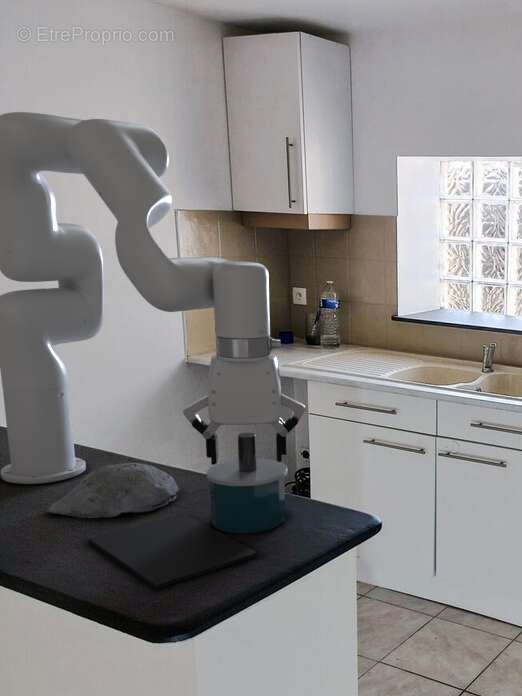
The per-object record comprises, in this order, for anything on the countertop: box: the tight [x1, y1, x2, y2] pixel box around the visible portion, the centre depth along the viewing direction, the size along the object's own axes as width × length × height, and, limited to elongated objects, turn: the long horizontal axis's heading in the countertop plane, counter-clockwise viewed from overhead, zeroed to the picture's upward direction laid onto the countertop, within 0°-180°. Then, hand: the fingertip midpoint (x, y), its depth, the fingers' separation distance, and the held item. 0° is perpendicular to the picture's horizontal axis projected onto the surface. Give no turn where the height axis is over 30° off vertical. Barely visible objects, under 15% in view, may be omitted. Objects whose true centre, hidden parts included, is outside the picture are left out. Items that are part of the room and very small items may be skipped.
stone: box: [46, 462, 181, 519], centre depth 127 cm, size 18×8×15 cm
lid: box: [206, 432, 289, 486], centre depth 120 cm, size 12×12×7 cm
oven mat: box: [88, 513, 258, 590], centre depth 111 cm, size 20×14×1 cm
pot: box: [209, 476, 287, 534], centre depth 121 cm, size 11×11×8 cm
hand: (247, 460), depth 120 cm, fingers open, 8 cm apart
